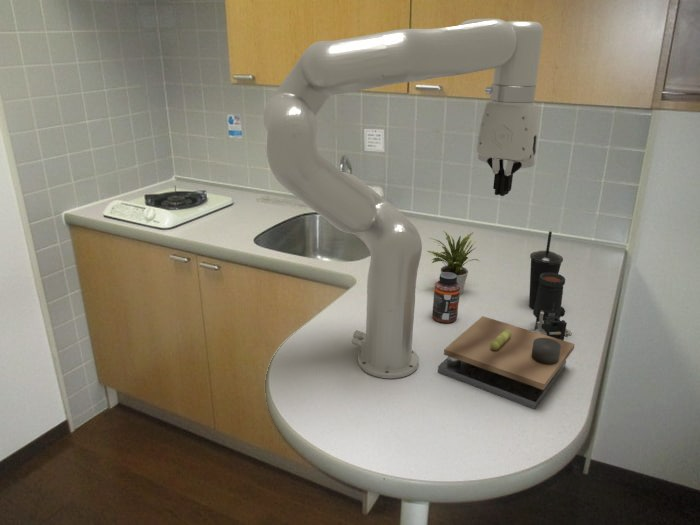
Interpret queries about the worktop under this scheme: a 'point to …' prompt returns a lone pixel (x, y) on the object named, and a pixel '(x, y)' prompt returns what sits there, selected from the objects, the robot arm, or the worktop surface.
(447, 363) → the dark board base
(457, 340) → the levelling plate
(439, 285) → the supplement bottle
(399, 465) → the worktop surface
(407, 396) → the worktop surface
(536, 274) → the drinking cup
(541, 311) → the scope
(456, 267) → the house plant
